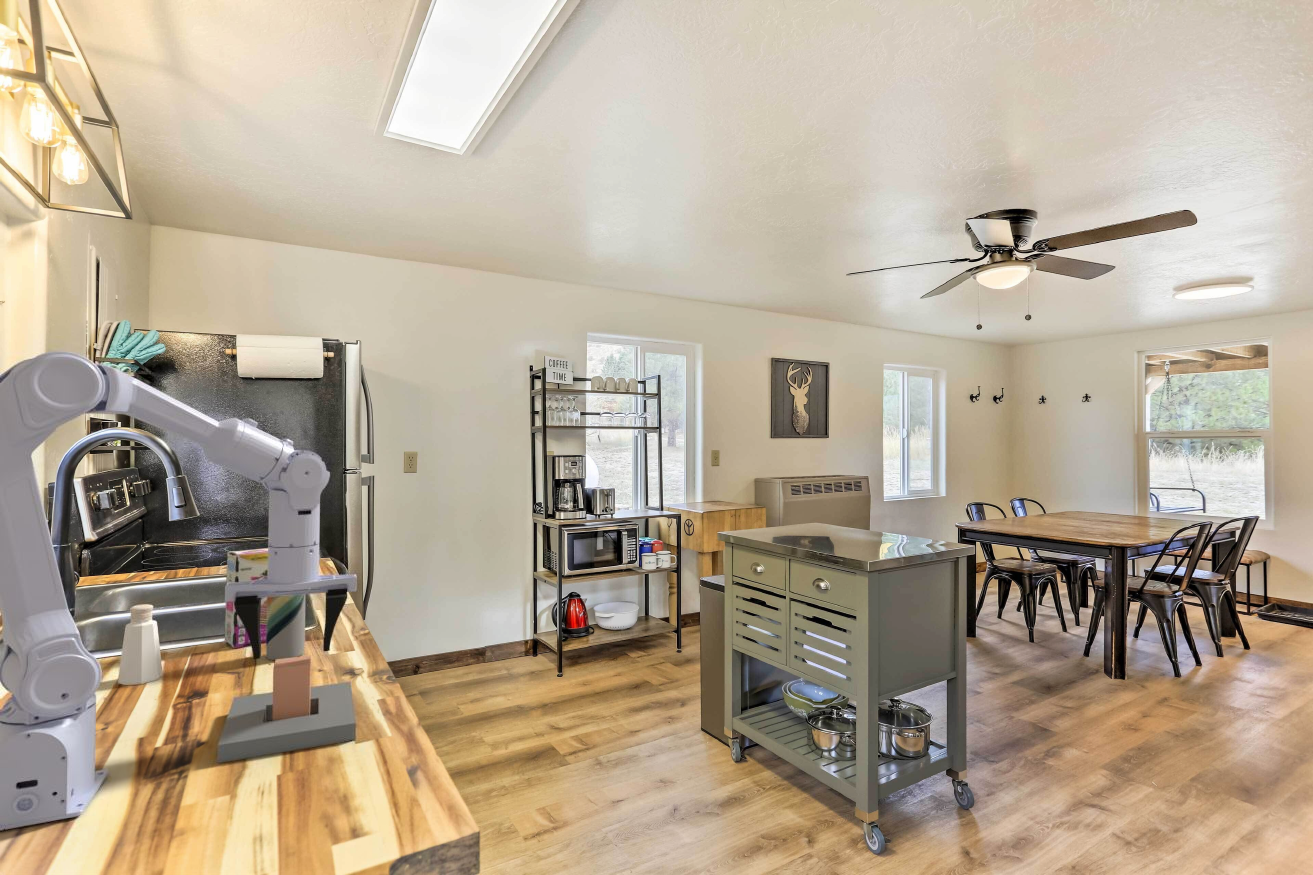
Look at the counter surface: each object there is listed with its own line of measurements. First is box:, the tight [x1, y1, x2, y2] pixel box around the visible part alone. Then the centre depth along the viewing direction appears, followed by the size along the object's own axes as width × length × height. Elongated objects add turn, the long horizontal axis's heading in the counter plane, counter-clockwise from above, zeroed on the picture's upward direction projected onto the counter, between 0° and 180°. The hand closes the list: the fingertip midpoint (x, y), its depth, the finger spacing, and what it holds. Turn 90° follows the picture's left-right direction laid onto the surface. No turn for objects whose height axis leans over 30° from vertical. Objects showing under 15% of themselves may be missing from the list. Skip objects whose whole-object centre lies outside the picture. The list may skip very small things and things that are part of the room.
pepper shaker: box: [117, 603, 164, 686], centre depth 102 cm, size 5×5×11 cm
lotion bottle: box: [265, 569, 306, 661], centre depth 114 cm, size 6×6×20 cm
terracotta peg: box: [272, 655, 312, 721], centre depth 86 cm, size 4×4×8 cm
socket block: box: [217, 681, 357, 764], centre depth 86 cm, size 16×14×2 cm
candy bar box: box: [224, 547, 268, 649], centre depth 123 cm, size 11×5×16 cm, turn 141°
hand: (292, 652), depth 86 cm, fingers open, 7 cm apart
